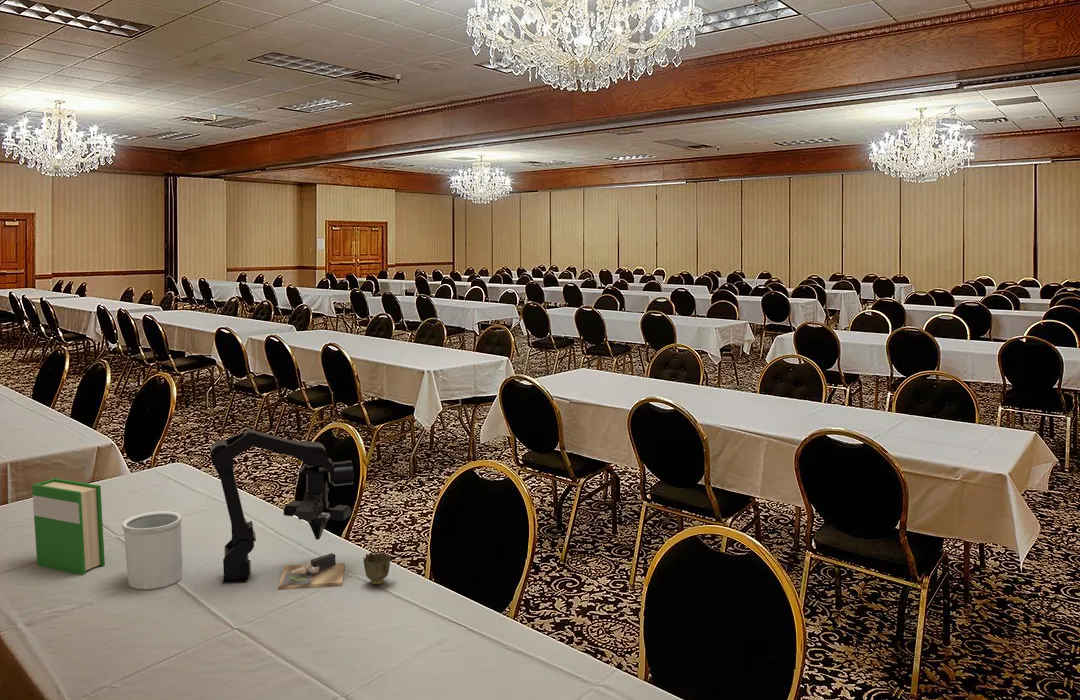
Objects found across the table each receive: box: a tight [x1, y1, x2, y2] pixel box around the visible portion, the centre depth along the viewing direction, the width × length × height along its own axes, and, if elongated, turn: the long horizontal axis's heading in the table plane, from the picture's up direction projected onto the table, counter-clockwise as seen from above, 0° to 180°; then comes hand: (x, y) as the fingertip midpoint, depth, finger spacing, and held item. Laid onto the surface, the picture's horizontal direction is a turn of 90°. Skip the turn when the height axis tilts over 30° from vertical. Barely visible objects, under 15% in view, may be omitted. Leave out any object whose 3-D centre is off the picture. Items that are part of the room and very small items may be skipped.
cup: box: [362, 551, 392, 587], centre depth 230 cm, size 8×7×8 cm
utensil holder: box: [121, 510, 183, 590], centre depth 229 cm, size 15×15×18 cm
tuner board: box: [277, 562, 346, 590], centre depth 234 cm, size 17×14×1 cm
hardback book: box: [31, 477, 106, 576], centre depth 238 cm, size 18×7×24 cm, turn 70°
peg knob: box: [291, 552, 337, 575], centre depth 234 cm, size 14×4×3 cm, turn 139°
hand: (318, 539), depth 239 cm, fingers closed
